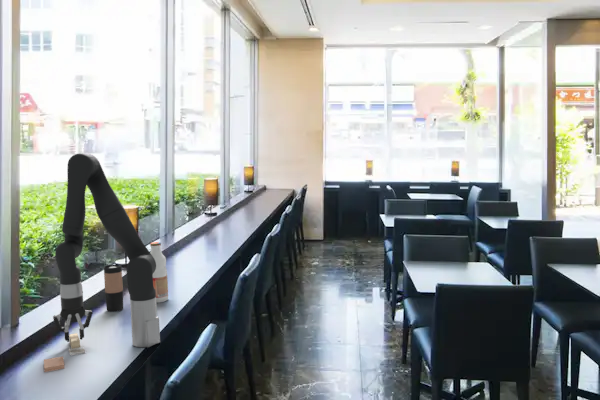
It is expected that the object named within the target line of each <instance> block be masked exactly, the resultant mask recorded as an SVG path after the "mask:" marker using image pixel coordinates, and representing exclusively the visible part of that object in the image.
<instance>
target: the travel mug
mask: <svg viewBox="0 0 600 400" xmlns="http://www.w3.org/2000/svg"><path fill="white" fill-rule="evenodd" d="M103 275H104V276H103V277H104V295H105V297H104V298H105V306H106V311H107V312H109V313H115V312H121V311H123V310H124V287H123V286H124V285H123V273H122V265H118V264H110V265H109V264H108V265H105V266H104V267H103Z"/></svg>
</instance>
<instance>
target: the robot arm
mask: <svg viewBox="0 0 600 400" xmlns="http://www.w3.org/2000/svg"><path fill="white" fill-rule="evenodd" d="M86 188H88V190H89V192H90V193H91V195H92V198H93V202H94V203H93V204H94V207H95V211H96V214H97V217H98V218H99V220H100V222H101V224H102V225H103V227H104V229H105V230H106V232H107V233H108V234H109V236H111V238H112V239H113V240H115V241H116V242H117V243H118V244H119V245H120V247H122V250H124V253H125V254H126V256H127V258H128V260H129V261H128V263H127V265H126V281H127V291H128V294H129V299H130V300H129V302H130V304H129V305H130V323H131V324H130V325H131V339H132V346H133V347H136V348H150V347H152V346H155V345H157V344H159V343H161V333H160V332H161V330H160V318H159V316H158V314H157V313H158V312H157V311H158V309H157V303H156V290H155V289H154V286H153V273H154V272H155V270H156V262H155V259H154V258H153V256H152V255H151V253H150V252H151V251H149V249H148V248H147V246H146V245H145V243H144V242H143V241H142V239H141V238H140V236H139V234H138V232H137V229H136V228H135V226H134V224H133V222H132V221H131V219H130V216H129V215H128V213H127V211H126V209H125V208H124V206H123V204H122V203H121V201H120V200H119V197H118V196H117V194H116V193H115V191H114V189H113V188H112V186H111V184H110V183H109V181H108V179H107V176H106V174H105V172H104V170H103V167H102V165H101V163H100V161H99V158H97V157H96V156H95V155H94V154H91V153H89V152H88V153H87V152H82V153H81V152H80V153H75V154H73V155H72V156H71V157H70V158H69V159H68V162H67V190H66V202H65V209H64V214H63V221H62V227H61V228H62V230H61V231H62V233H63V234H64V240H63V242H61V243H59V244H58V245H57V247H56V249H55V252H54V254H55V261H56V265H57V269H58V270H59V283H60V287H59V288H60V290H59V291H60V292H59V294H60V295H59V296H60V306H61V307H60V308H61V309H60V312H59V313H58V314H56V315H53V316H52V319H53V321H54V323H55V325H56V328H57V329H58V332H64V340H65V341H66V342H67V343H70V339H69V334H70V332H69V328H70V324H71V323H78V327H79V328H78V330H79V340H80V341H82V340H83V338H85V331H84V330H85V328H89V326H90V324H91V320H92V317H93V311H92V309H90V310H87V309H85V307H84V291H83V284H82V273H81V269H80V267H79V266H77V263H76V258H78V257H79V256H81V254H82V251H83V248H84V246H83V245H84V241H83V240H84V236H83V234H84V233H83V230H84V226H85V221H86V213H87V212H86ZM84 315H85V317H86V318H85V322H84V323H83V322H82V318H83V316H84ZM61 318H62V319H64V321H65V322H64V326H62V325H61V322H60V321H61Z"/></svg>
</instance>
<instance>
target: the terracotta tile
mask: <svg viewBox="0 0 600 400" xmlns="http://www.w3.org/2000/svg"><path fill="white" fill-rule="evenodd" d="M62 369H65V360H64V356H58V357H52V358H46V359H43V370H44V373H48V372H52V371H57V370H62Z"/></svg>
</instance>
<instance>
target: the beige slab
mask: <svg viewBox="0 0 600 400" xmlns="http://www.w3.org/2000/svg"><path fill="white" fill-rule="evenodd" d="M69 344H70V347H71V348H69V349H68V352H69V356H70V357H71V356H77V355H82V354H86V349H85V347H84V346H81V340H80V336H79V335H78V332H76V333H71V334H70V333H69Z"/></svg>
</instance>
